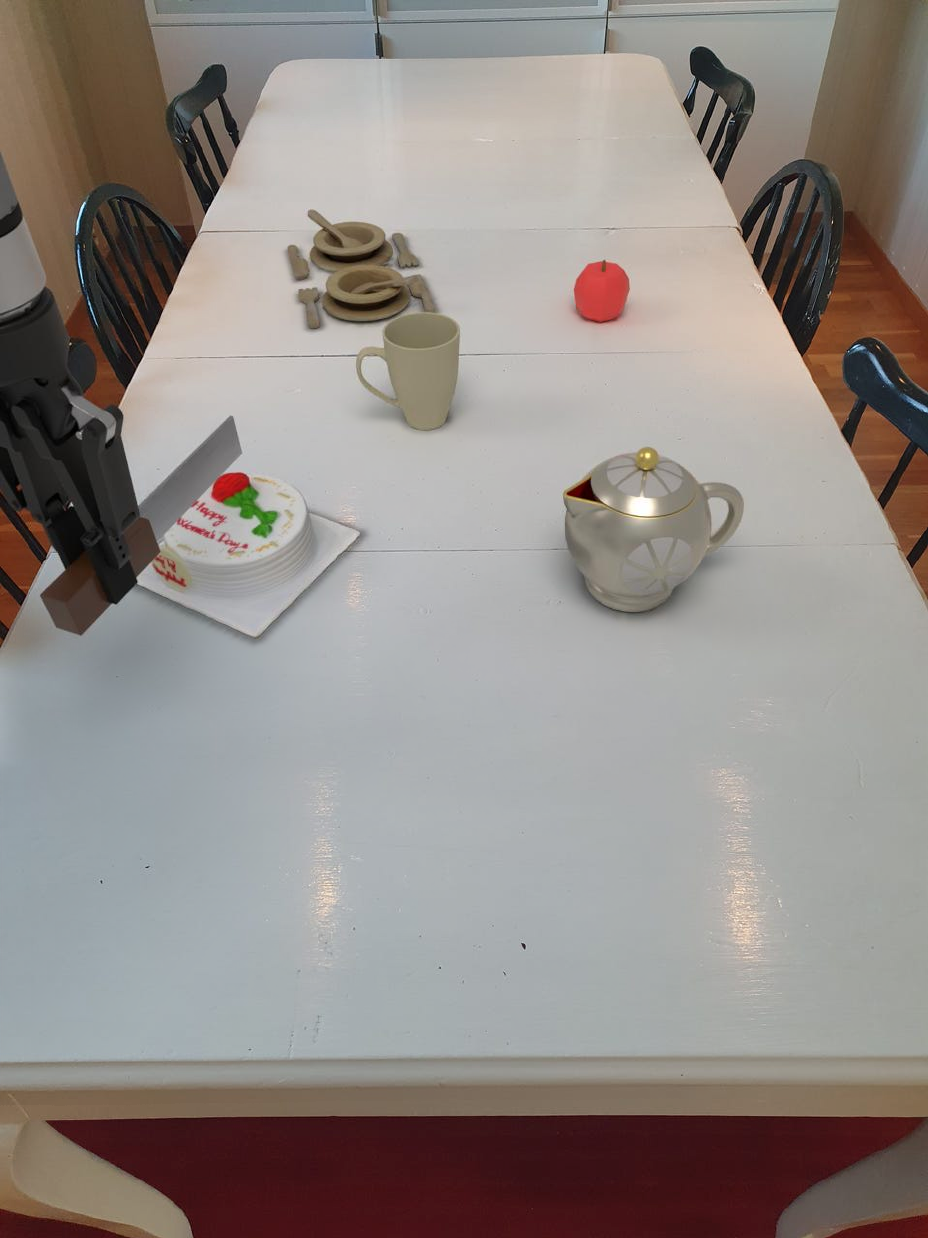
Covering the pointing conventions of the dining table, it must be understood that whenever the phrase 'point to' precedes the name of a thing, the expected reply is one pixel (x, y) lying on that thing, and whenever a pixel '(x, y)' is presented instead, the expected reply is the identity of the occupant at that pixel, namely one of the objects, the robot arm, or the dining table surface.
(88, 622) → the knife
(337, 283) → the tableware set
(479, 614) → the dining table surface
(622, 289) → the apple
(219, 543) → the cake
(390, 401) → the mug
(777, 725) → the dining table surface
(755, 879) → the dining table surface
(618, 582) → the teapot
